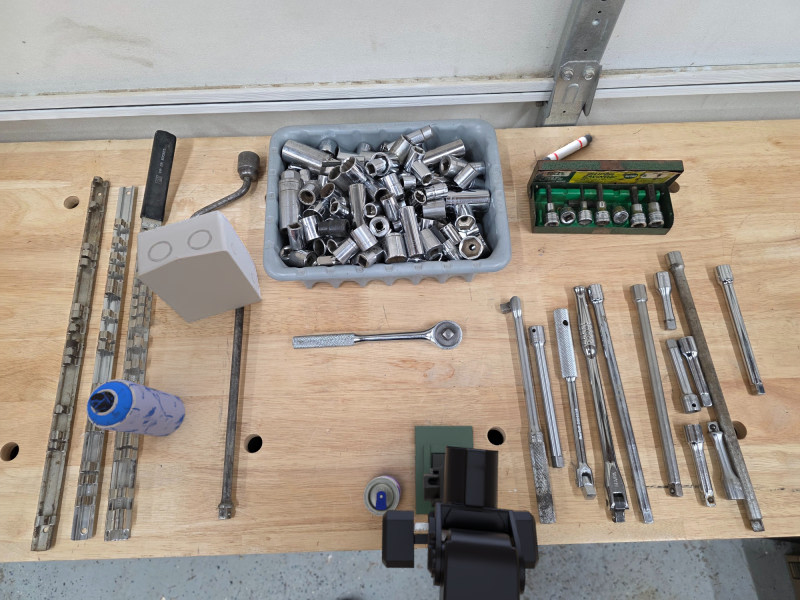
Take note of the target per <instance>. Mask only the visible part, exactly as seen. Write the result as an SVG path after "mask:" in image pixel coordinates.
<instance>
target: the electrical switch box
mask: <svg viewBox="0 0 800 600" xmlns="http://www.w3.org/2000/svg"><path fill="white" fill-rule="evenodd" d="M136 254H137V255H136V256H137V278H138V280H139V281H140V282H142V284H144V285H145V286H146V287H147V288H148V289H149V290H150V291H151V292H153V294H155V295H156V297H158V298H159V299H160V300H161V301H163V302H164V303H165V304H166V305H167V306H168V307H169V308H170V309H171V310H173V312H175V313H176V314H177V315H178V316H180V318H182V319H183V320H184V321H185V322H186V323H188V324H192V323H195V322H198V321H201V320H204V319H209V318H211V317H214V316H217V315H220V314H224V313H227V312H230V311H233V310H237V309H239V308H240V309H241V308H243V307H246V306H249V305H253V304H256V303H259V302H262V301H263V297H262V294H261V288H260V285H259V278H258V273H257V269H256V264H255V262H254V260H253V258H252V255H251V254H250V252H249V250H248V249H247V247H246V246H245V244H244V242H243V241H242V239H241V238H240V236H239V235H238V233H237V231H236V230H235V228H234V226H233V225H232V223H231V222H230V219H228V218H227V216H225V214H224V213H222V211H220V210H214V211H213V210H212V211H210V212H207V213H203V214H200V215H199V214H198V215H196V216H192V217H188V218H186V219H182V220H179V221H176V222H172V223H169V224H165V225H162V226H157V227H155V228H151V229H148V230H144V231H141V232H139V233H137V235H136Z"/></svg>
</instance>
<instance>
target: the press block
mask: <svg viewBox="0 0 800 600" xmlns="http://www.w3.org/2000/svg"><path fill="white" fill-rule="evenodd" d="M473 430H474V429H473V425H415V426H414V454H415V455H414V458H415V462H414V464H415V515H428V514H429V512H430V511H432V510H435V507H431V502H430V501H424V496H423V475H424V474H429V473H430V469H432V455H433V454H445V451H446V446H453V447H464V448H474V433H473V432H474V431H473Z"/></svg>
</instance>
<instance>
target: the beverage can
mask: <svg viewBox="0 0 800 600" xmlns="http://www.w3.org/2000/svg"><path fill="white" fill-rule="evenodd" d="M401 497H402V487H401V484H400V482H399V481H398V480H397V479H396V478H395V477H393V476H391V475H381V476H377V477H375V478H373V479H372V480H370V481H369V482H368V483H367V485H366V486H365V488H364V491H363V498H362V499H363V504H364V506H365V508H366V509H367V511H368V512H369V513H370V514H372V515H374V516H377V517H383V514H384V513H385V512H386V511H387V510H397V507H398V505H399V503H400V500H401Z"/></svg>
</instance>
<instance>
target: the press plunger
mask: <svg viewBox="0 0 800 600" xmlns="http://www.w3.org/2000/svg"><path fill="white" fill-rule="evenodd" d="M442 465H445V454H433V455H432V469H433V468H440V467H441V466H442Z"/></svg>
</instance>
